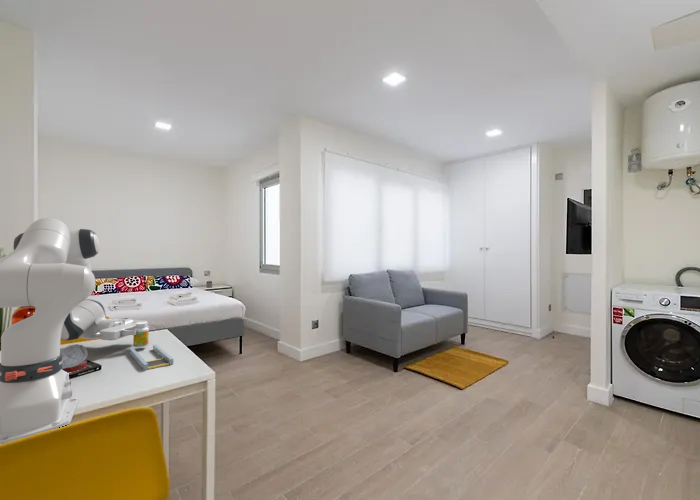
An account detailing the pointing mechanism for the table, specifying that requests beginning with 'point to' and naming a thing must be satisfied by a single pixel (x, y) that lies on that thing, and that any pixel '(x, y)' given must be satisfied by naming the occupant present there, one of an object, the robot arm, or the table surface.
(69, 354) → the canned food
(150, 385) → the table surface
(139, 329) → the supplement bottle
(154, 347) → the channel
